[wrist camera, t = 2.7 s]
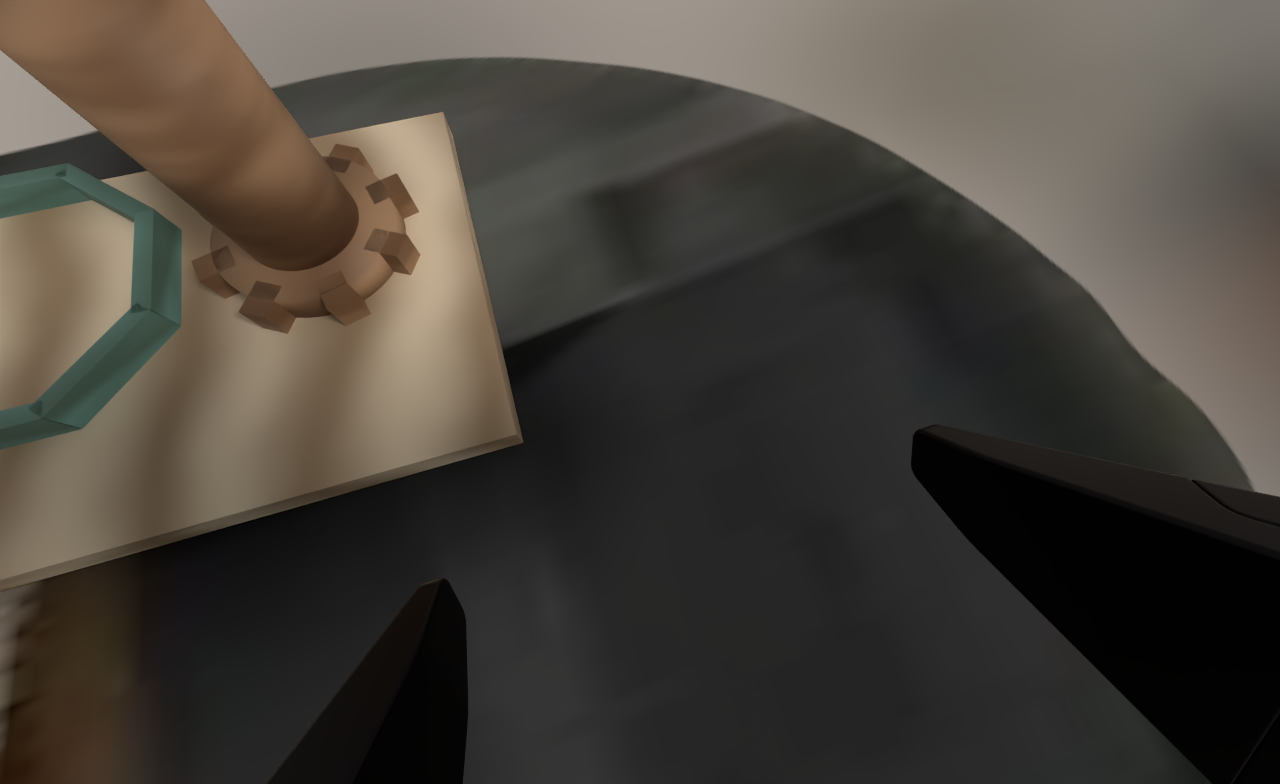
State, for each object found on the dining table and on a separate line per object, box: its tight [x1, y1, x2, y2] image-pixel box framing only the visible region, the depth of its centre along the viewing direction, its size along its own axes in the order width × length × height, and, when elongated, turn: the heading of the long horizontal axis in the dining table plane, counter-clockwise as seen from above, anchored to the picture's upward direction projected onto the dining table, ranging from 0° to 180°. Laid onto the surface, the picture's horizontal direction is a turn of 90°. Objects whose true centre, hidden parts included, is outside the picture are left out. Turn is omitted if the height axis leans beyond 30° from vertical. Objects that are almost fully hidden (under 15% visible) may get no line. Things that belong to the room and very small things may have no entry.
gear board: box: [0, 112, 523, 591], centre depth 22 cm, size 27×19×3 cm
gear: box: [0, 0, 420, 334], centre depth 18 cm, size 10×10×12 cm
